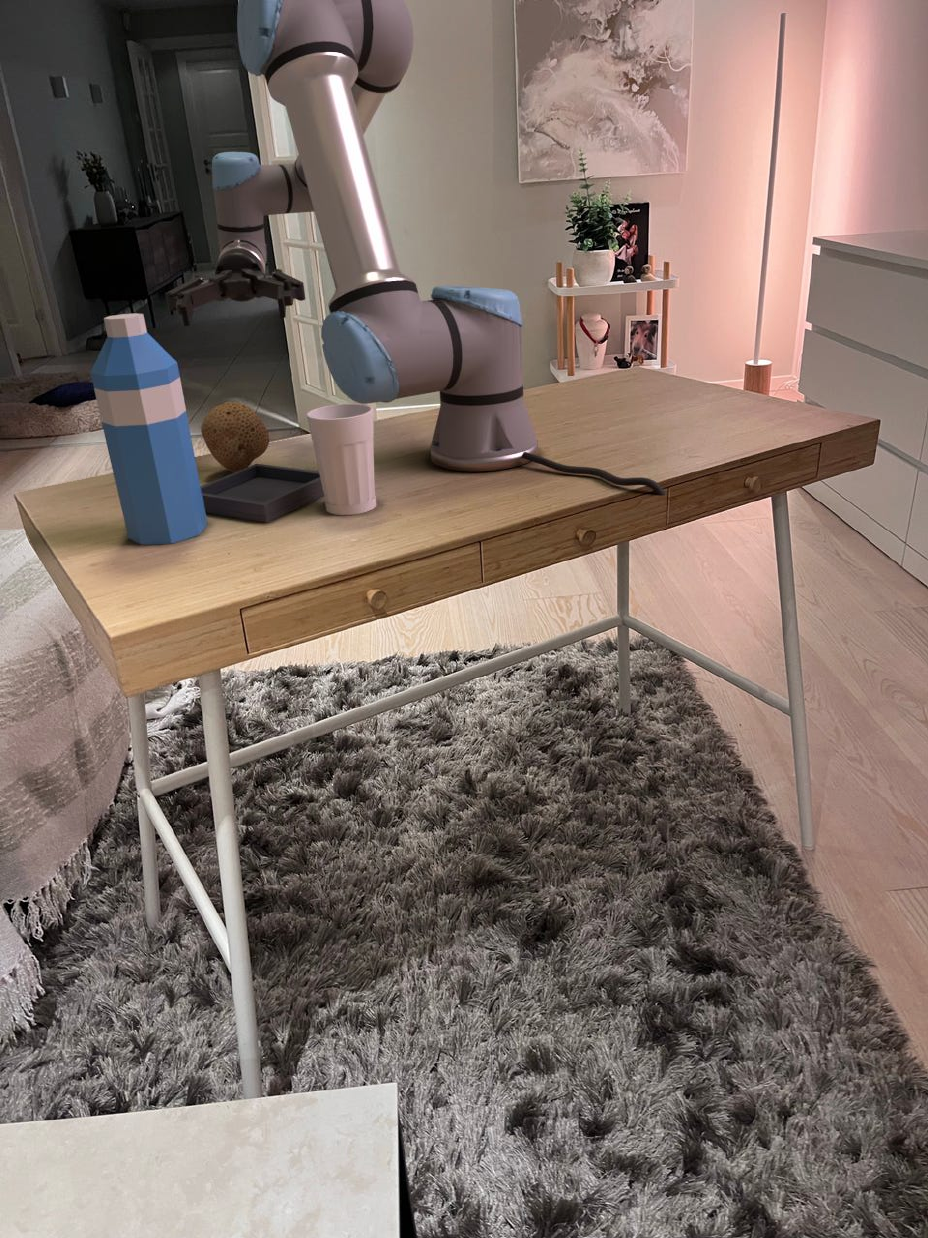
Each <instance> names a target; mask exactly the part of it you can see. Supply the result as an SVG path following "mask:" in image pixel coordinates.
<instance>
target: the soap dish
mask: <svg viewBox="0 0 928 1238" xmlns="http://www.w3.org/2000/svg"><path fill="white" fill-rule="evenodd" d="M200 487H201V492H202V497H203V503H204V508H205V513H206V514H212V515H218V516H222V517H223V516H224V517H228V518H229V517H230V518H235V519H241V520H246V521H247V520H248V521H252V522H253V521H254V522H260V523H267V524H268V523H270V522H272V521H274V520H276V519H278V518H280V517H282V516H284V515H286V514H288V513H290V512H292V511H295V510H296V509H299V508H300V507H303V506H305V505H307V504H309V503H311V502H313V501H315V500H317V499H320V498H323V497H324V493H323V488H322V483H321V479H320V474H319V470H310V469H301V468H293V467H287V466H286V467H285V466H278V465H269V464H262V463H255V464H252V465H249V467H247V468H244V469H242V470H239V471H237V472H234V473H233V472H231V473H230V474H227V475H225V476H222V477H219V478H217V479H215V480H211V481H210V482H207V483H204V484H202V485H200Z"/></svg>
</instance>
